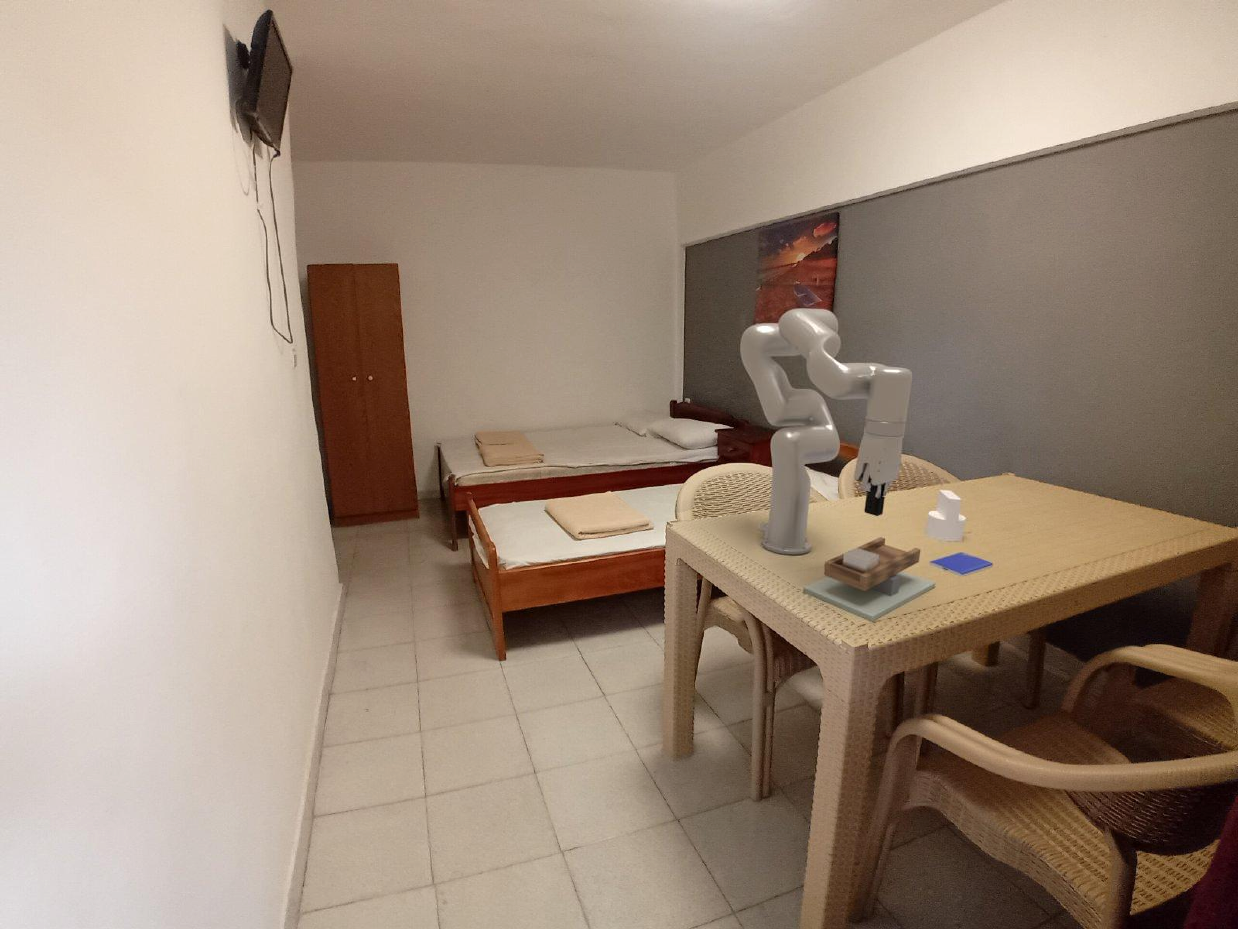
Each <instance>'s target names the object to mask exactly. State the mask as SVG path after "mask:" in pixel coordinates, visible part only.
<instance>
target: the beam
mask: <svg viewBox="0 0 1238 929" xmlns="http://www.w3.org/2000/svg"><path fill="white" fill-rule="evenodd" d="M856 548H859V549H862V550H865V551H868V552H871V553H874V554H877V555H879V561H878V567H876V568H874V569H872V570H870V571H868V572H866V573H864V574H862V573H859V572H857V571H854V570H851V569H849V568H846V567H843V557H844V554H845V553H847V552H849V551H850V550H849V551H847V552H845V553H842V554H840V555H837V556H836V557H834V558H831V559H829V560H827V561H824V569H823V576H825V577H830V578H833V579H835V580H838V581H840V582H843V583H846V584H848V585H851V586H853V587H856V588H858V589H861V590H863V591H866V590H867V589H869V588H871V587H873V586H875V585H877V584H879V583H881V582H882V581H884V580H886V579H888V578H890V577H892V576H894V575H896V574H897V573H899V572H901V571H902V572H904V570H906V569H908V568H910V567H913V566H914V565H916V564H918V563H920V556H921V549H920V548H917V547H915V548H914V547H913V548H912V549H910V550H908V551H906V550H902V549H899V548H896V547H894V546H891V545H887V544H886V538H885V537H880V536H879V537H877V538H875V539H873V540H871V541H868V542H866V543H864V544H862V545H860V546H857V547H856Z"/></svg>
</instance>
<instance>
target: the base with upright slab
mask: <svg viewBox="0 0 1238 929" xmlns="http://www.w3.org/2000/svg"><path fill="white" fill-rule="evenodd" d="M961 506H962V499H961V498H960V497H959V496H958V495H957V494H956V493H955V492H953V491H952V490H945V489H939V490H938V496H937V501H936V508H935V510H930V511H928V514H927V518H926V519H927V521H926V527H925V535H926V536H927V537H928V538H930V537H931V539H932V538H933V540H935V539H937V540H936V541H939V540H940V541H939V542H944V541H949V542H948V543H955V542H954V541H959V542H961V540H962V541H963V537H964V530H965V525H966V519H967V518H966V516H964V515H962V514H961V513H960V511H961ZM950 541H951V542H950Z"/></svg>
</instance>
